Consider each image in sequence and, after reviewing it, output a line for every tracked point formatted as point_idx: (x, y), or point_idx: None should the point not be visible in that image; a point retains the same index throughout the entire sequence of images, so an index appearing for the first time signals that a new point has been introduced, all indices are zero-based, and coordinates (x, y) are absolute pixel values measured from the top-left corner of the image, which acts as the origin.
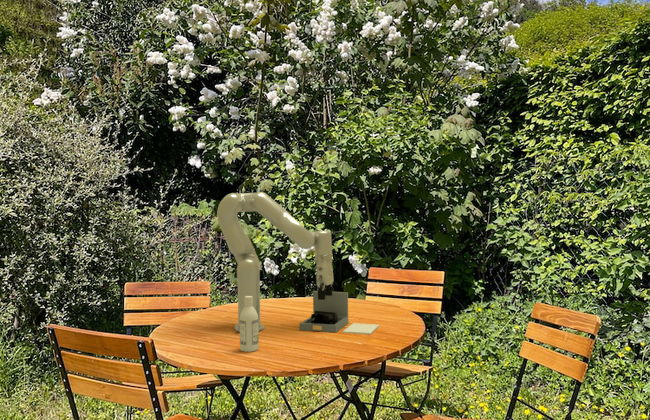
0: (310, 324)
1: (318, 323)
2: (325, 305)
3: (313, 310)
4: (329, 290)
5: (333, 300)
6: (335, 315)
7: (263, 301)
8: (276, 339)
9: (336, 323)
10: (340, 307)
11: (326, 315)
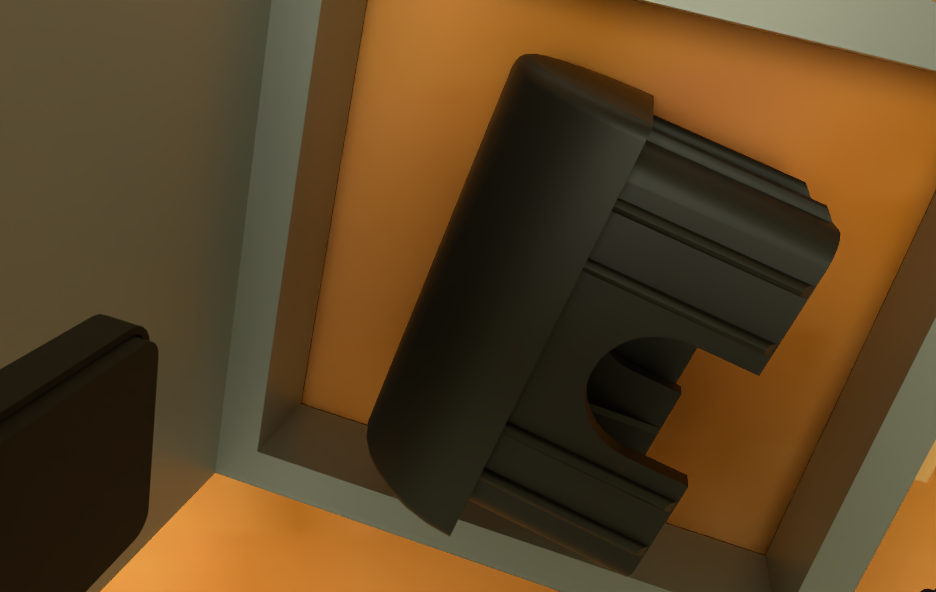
0: (882, 523)
1: (592, 378)
2: None
3: (172, 513)
4: (17, 506)
5: (40, 217)
6: (616, 100)
7: None
8: None
9: (914, 51)
10: (163, 8)
11: (801, 305)
